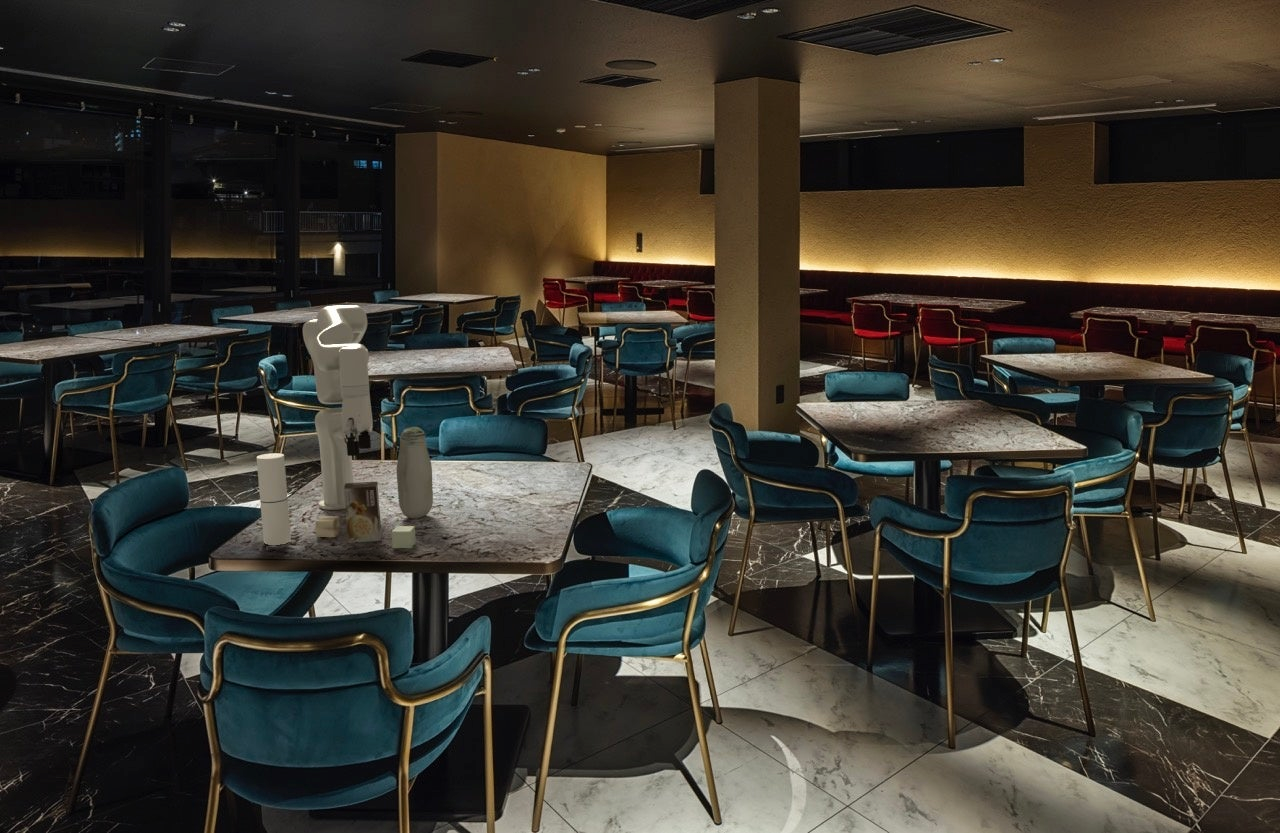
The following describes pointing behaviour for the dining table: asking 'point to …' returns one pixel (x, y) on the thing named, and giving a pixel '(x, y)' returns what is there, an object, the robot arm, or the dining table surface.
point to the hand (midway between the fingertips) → (359, 451)
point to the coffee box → (362, 512)
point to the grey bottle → (414, 474)
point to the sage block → (403, 537)
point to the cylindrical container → (273, 498)
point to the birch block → (327, 526)
